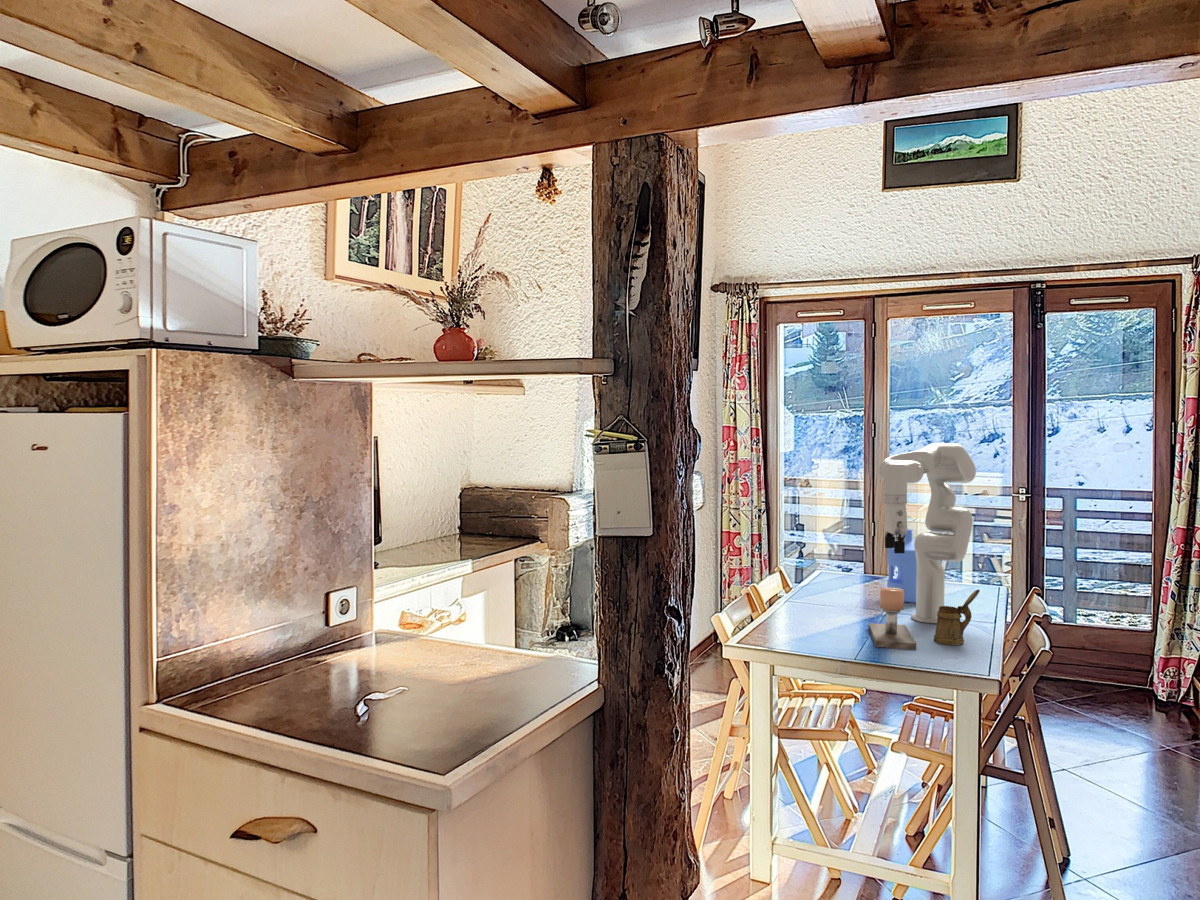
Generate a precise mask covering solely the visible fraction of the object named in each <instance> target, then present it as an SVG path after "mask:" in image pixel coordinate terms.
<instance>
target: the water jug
mask: <svg viewBox="0 0 1200 900" xmlns="http://www.w3.org/2000/svg"><path fill="white" fill-rule="evenodd" d="M914 541H915V540H913V530H912V529H907V534H906V535H905V553H894V548H887V553H886V555H887V556H886V557H887V565H888V576H887V577H888V579H887V581H886V588H887V587H888V588H900V589H903V590H904V603H906V602H909V603H908V604H916V578H917V563H916V554H915V548H914ZM894 567H897V576H896V577H894Z"/></svg>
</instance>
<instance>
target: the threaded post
mask: <svg viewBox="0 0 1200 900" xmlns="http://www.w3.org/2000/svg"><path fill="white" fill-rule="evenodd" d="M901 611H902V610H886V609H882V612H885V624H886V633H888V634H897V625H898V614H899V613H901Z"/></svg>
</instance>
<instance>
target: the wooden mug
mask: <svg viewBox="0 0 1200 900" xmlns="http://www.w3.org/2000/svg"><path fill="white" fill-rule="evenodd" d="M979 593H980V589H976V590H974V591H973V592H972V593H971V594H970V595H969V596H968V598H967V599H966V600H965V601H964V603H963V605H958V606H957V607H955V606H950V605H944V606H940V607H939V611H938V613H937V616H938V619H937V623H936V626H935V632H934V635H933V642H934V643H937V644H941V645H946V646H961V645H963V644H964V642H965V638H964V631H965V630H966V629H967V626H968V625H969V624H970V622H971V620H972V611H971V609H970V608H969V605H970V604H971V603H972V602H973V601H974V600H975V599H976V598H977V596H978V595H979ZM962 615H964V617H965V619H964V620H963V621H961V618H963V616H962Z"/></svg>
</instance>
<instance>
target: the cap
mask: <svg viewBox="0 0 1200 900" xmlns="http://www.w3.org/2000/svg"><path fill="white" fill-rule="evenodd" d="M904 603H905V602H904V590H903V589H900V588H888V587H887V586H886V587H881V588H880V589H879V608H880V609H882V610H883V609H886V610H901V611H903V610H905V609H904V607H905V605H904Z"/></svg>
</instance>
